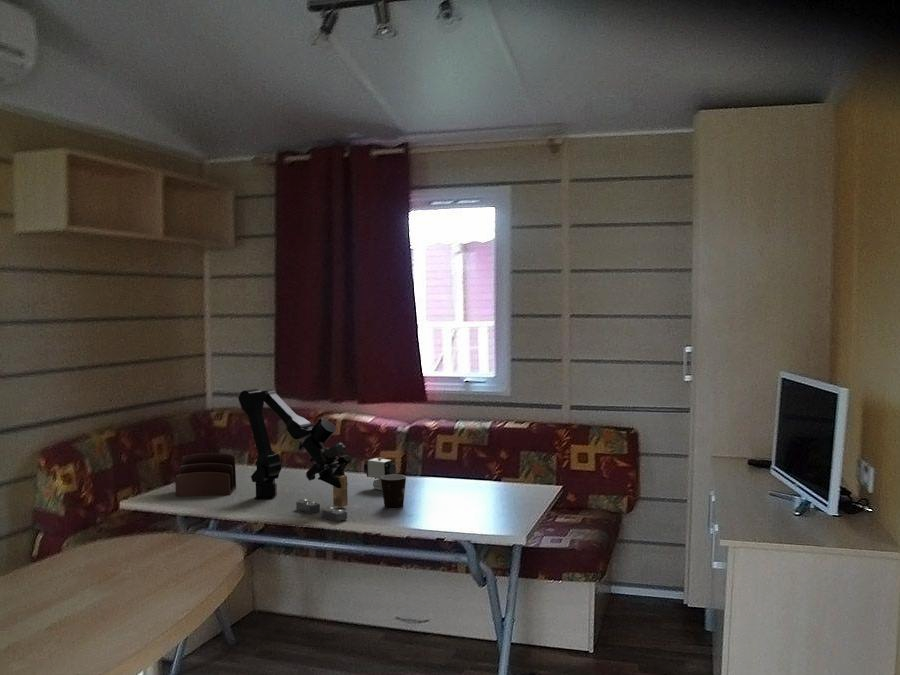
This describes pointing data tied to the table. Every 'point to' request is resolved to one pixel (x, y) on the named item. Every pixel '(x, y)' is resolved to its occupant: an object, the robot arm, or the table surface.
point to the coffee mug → (393, 490)
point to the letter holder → (206, 475)
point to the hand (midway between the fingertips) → (343, 486)
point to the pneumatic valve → (379, 470)
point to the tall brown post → (340, 492)
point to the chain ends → (327, 513)
